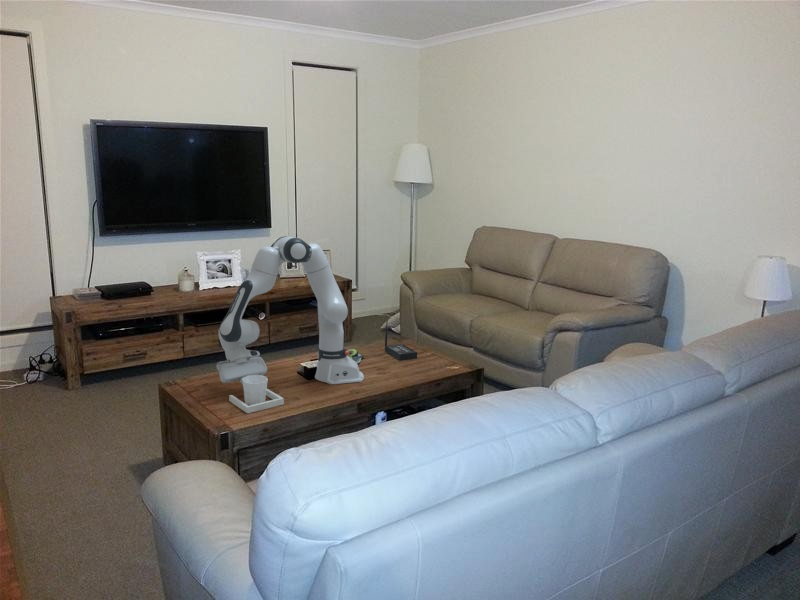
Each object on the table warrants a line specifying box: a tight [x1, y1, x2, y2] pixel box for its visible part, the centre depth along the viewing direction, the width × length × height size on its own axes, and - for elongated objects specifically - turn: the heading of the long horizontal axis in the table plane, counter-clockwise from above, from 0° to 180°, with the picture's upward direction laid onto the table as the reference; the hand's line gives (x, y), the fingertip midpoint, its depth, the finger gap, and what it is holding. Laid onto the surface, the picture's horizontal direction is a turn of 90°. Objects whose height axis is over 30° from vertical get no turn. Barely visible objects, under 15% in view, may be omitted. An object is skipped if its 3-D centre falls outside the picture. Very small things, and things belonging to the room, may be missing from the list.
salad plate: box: [347, 348, 365, 365], centre depth 310 cm, size 19×18×5 cm
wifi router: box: [384, 319, 418, 362], centre depth 324 cm, size 20×14×17 cm
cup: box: [242, 375, 268, 406], centre depth 252 cm, size 10×10×10 cm
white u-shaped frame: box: [228, 388, 285, 414], centre depth 253 cm, size 15×16×2 cm
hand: (249, 387), depth 256 cm, fingers closed, pressing on cup
